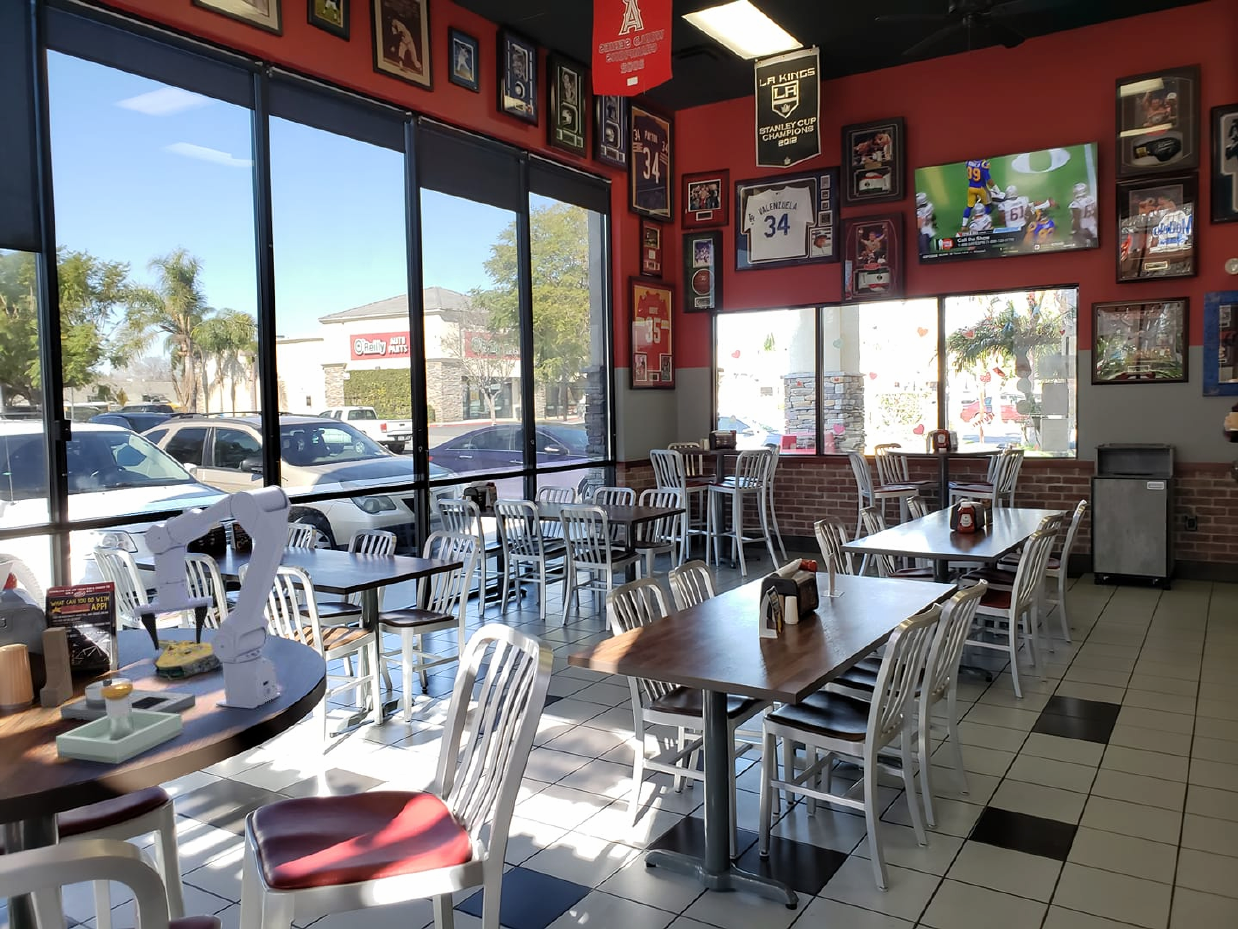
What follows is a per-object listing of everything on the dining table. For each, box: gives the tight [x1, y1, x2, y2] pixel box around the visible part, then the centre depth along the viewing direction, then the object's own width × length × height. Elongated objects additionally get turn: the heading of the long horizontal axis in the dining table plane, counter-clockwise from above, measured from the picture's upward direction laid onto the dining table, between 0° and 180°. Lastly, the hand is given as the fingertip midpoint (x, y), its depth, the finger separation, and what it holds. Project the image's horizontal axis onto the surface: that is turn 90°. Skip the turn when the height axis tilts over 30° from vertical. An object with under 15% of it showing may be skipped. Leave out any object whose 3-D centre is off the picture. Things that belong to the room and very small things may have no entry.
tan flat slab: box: [154, 639, 223, 681], centre depth 212 cm, size 14×6×30 cm
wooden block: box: [39, 626, 74, 708], centre depth 189 cm, size 7×3×15 cm, turn 6°
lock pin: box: [101, 683, 135, 740], centre depth 165 cm, size 5×5×9 cm
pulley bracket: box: [59, 677, 196, 722], centre depth 182 cm, size 22×12×6 cm, turn 70°
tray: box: [55, 710, 184, 765], centre depth 164 cm, size 14×14×4 cm
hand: (178, 645), depth 189 cm, fingers open, 7 cm apart
